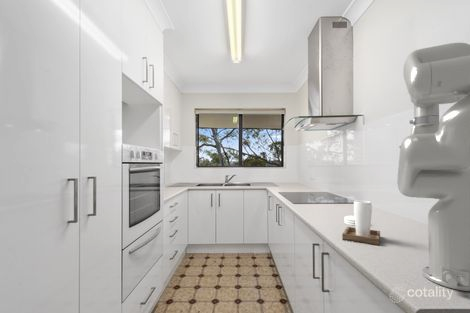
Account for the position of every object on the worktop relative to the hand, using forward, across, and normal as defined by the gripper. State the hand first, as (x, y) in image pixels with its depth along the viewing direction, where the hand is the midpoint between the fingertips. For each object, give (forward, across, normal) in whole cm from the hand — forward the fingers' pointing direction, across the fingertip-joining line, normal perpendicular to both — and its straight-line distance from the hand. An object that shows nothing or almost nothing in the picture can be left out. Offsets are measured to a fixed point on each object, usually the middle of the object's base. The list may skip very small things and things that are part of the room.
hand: (427, 167), depth 91 cm
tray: (+30, -22, -1) cm, 38 cm away
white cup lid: (+31, -28, +24) cm, 48 cm away
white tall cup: (+30, -22, -1) cm, 37 cm away
